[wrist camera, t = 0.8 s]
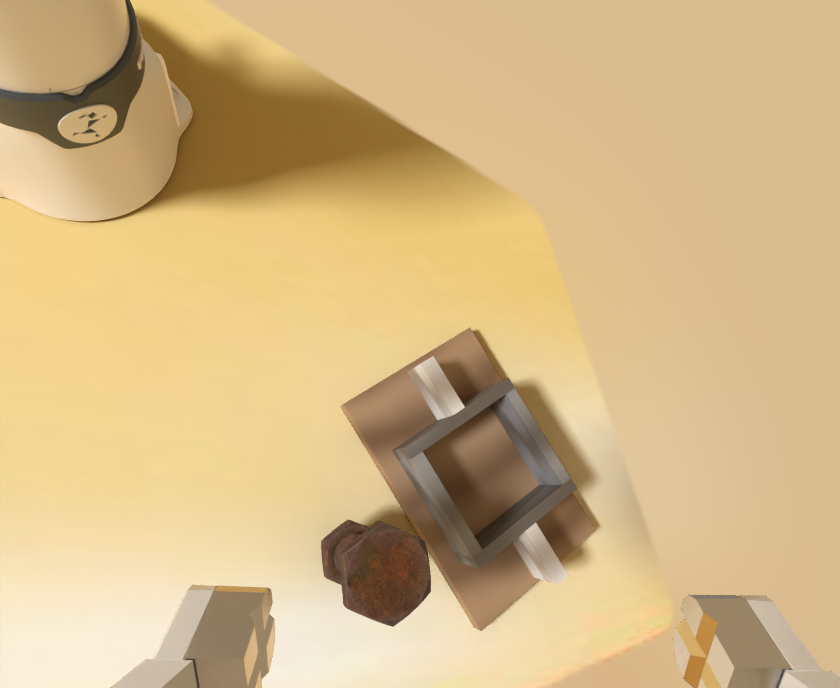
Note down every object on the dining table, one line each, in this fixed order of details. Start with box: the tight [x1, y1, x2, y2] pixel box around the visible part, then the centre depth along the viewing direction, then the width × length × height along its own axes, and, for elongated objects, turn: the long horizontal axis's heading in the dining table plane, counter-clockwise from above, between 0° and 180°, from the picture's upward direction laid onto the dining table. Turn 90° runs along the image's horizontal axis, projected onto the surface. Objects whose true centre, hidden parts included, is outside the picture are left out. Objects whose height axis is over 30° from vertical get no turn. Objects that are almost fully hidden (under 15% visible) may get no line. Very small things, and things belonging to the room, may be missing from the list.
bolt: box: [321, 520, 431, 627], centre depth 40 cm, size 6×5×15 cm
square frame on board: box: [340, 328, 595, 631], centre depth 49 cm, size 22×14×6 cm, turn 33°
